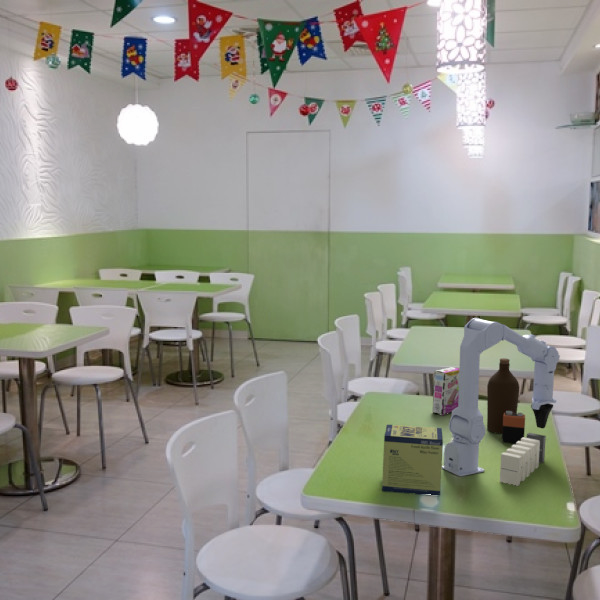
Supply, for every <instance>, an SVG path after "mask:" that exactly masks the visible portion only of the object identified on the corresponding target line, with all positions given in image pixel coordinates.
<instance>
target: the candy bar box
mask: <svg viewBox="0 0 600 600" xmlns="http://www.w3.org/2000/svg"><path fill="white" fill-rule="evenodd" d="M433 375H434V376H433V377H434V379H433V395H432V412H434V413H433V414H435V413H438V414H441V415H440V416H445V415H444V414H446V415H448V414H447V413H449V414H451V413H450V412H452V410H454V409H455V408H457V407H458V400H459V368H458V367H453V366H450V367H447V368H441V369H437V370H434V374H433ZM438 414H437V415H438Z"/></svg>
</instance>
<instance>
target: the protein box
mask: <svg viewBox="0 0 600 600" xmlns="http://www.w3.org/2000/svg"><path fill="white" fill-rule="evenodd" d="M383 438H384V440H383V459H382V460H383V461H382V481H381V486H382V487H381V491H382V492H389V493H398V494H399V493H400V494H409V493H415V494H414V495H420V494H431V495H440V496H441V487H442V486H441V485H442V470H443V468H442V466H443V449H444V447H443V446H444V445H443V444H444V440H443V438H444V437H443V428H442V427H430V426H415V425H401V424H400V425H399V424H386V428H385V432H384V437H383ZM431 495H430V496H431Z"/></svg>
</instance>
